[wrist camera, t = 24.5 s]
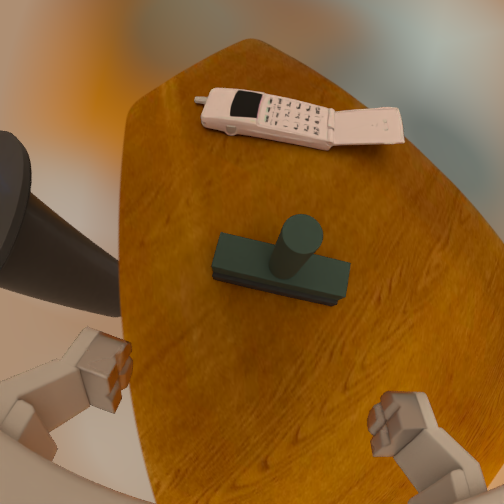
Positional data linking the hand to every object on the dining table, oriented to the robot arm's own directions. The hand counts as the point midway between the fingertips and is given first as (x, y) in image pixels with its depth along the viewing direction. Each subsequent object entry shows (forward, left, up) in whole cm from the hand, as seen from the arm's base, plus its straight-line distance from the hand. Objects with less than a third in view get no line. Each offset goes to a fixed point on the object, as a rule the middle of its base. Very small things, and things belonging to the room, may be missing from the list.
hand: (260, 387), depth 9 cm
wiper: (+1, +8, -20) cm, 22 cm away
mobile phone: (-1, +26, -20) cm, 33 cm away
